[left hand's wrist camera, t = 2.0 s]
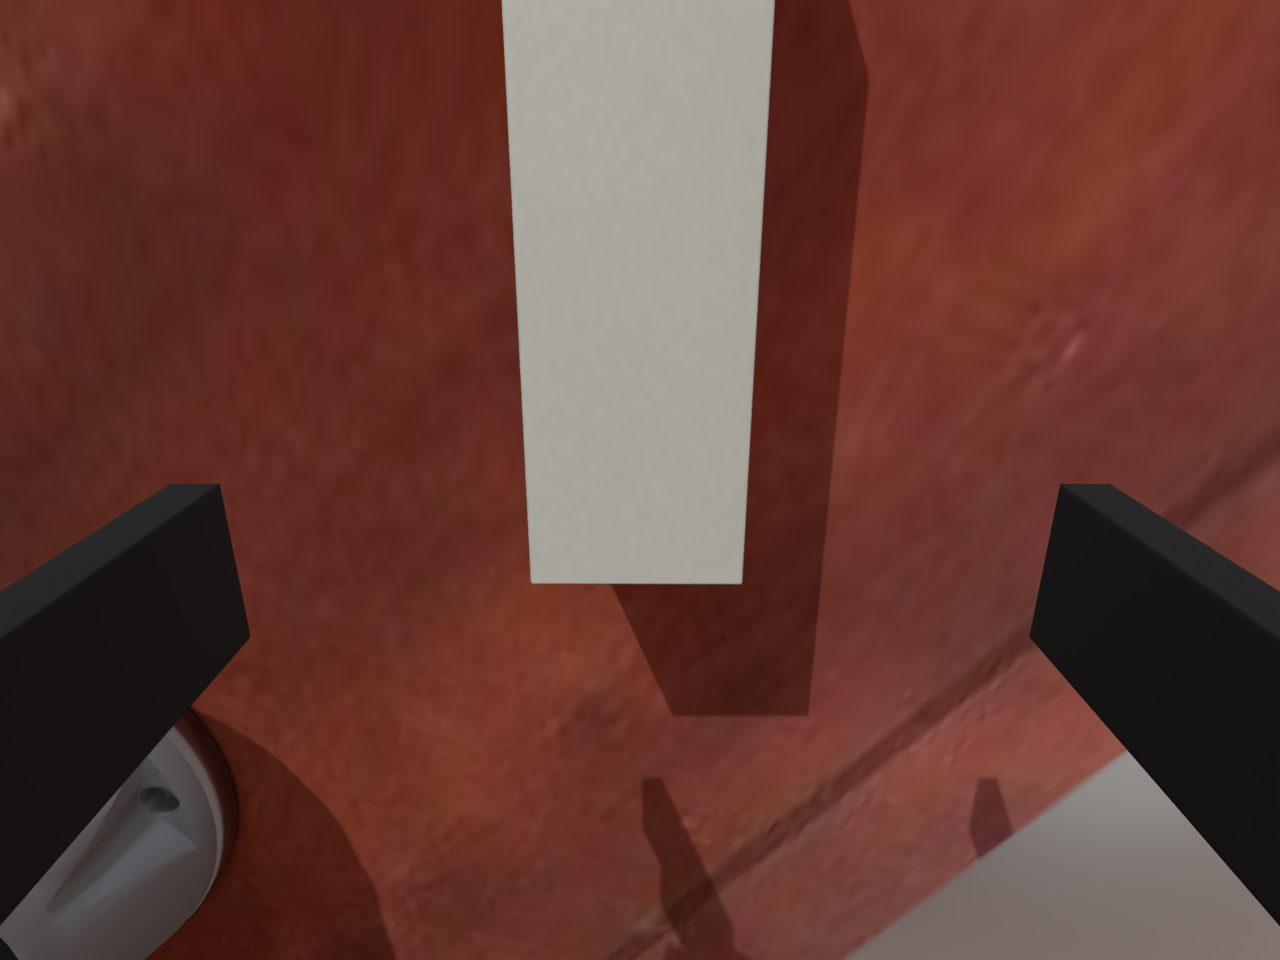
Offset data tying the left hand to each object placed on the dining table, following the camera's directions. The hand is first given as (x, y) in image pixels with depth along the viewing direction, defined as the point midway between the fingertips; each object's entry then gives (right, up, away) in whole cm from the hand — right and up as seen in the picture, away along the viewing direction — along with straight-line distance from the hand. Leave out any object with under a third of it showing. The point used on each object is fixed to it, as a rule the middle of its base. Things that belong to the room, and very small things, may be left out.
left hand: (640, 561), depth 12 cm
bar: (0, +12, +11) cm, 16 cm away
